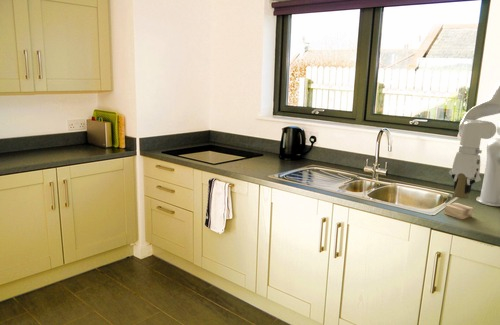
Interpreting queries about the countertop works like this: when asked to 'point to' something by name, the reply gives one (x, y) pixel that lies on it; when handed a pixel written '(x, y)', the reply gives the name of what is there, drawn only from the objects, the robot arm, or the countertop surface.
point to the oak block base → (458, 210)
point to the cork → (461, 187)
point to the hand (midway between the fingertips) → (461, 191)
